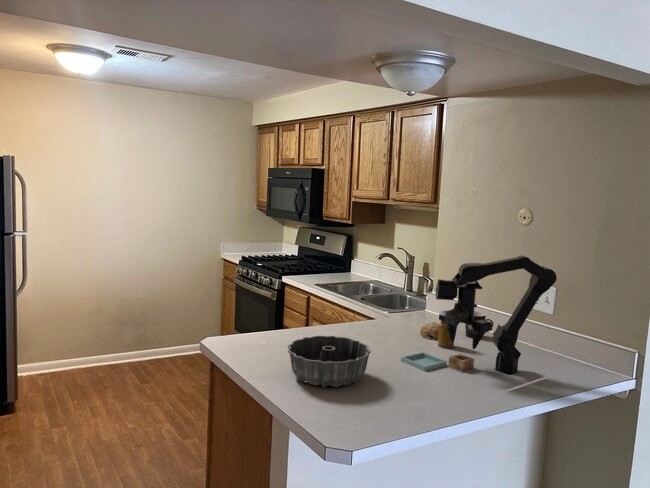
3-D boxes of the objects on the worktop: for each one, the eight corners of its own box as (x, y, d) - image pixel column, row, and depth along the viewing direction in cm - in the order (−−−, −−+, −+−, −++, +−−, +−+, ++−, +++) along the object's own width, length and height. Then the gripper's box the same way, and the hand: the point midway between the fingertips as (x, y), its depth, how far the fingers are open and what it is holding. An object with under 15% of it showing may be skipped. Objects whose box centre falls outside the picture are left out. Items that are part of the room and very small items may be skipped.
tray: (446, 367, 182) (446, 361, 181) (424, 372, 175) (424, 366, 175) (422, 357, 191) (423, 352, 190) (400, 362, 184) (401, 356, 184)
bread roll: (418, 345, 217) (418, 330, 213) (422, 329, 225) (422, 315, 221) (443, 348, 214) (443, 333, 210) (445, 332, 222) (446, 317, 218)
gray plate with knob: (477, 370, 179) (478, 362, 179) (462, 374, 175) (463, 366, 174) (459, 363, 186) (459, 355, 185) (444, 367, 181) (444, 359, 181)
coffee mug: (458, 334, 223) (460, 311, 222) (474, 332, 227) (476, 310, 226) (477, 342, 213) (479, 318, 211) (493, 340, 216) (495, 317, 215)
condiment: (444, 344, 208) (446, 314, 207) (461, 350, 202) (464, 319, 201) (432, 347, 204) (434, 317, 202) (450, 353, 197) (452, 322, 196)
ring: (473, 368, 180) (474, 358, 179) (462, 371, 176) (463, 361, 176) (459, 363, 184) (460, 353, 184) (448, 366, 181) (449, 356, 180)
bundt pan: (295, 397, 151) (297, 363, 150) (279, 365, 176) (280, 336, 175) (380, 391, 158) (382, 359, 157) (353, 361, 183) (354, 334, 182)
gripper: (429, 297, 180) (426, 341, 182) (473, 309, 165) (470, 356, 167) (450, 294, 187) (447, 336, 188) (495, 305, 172) (491, 351, 174)
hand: (463, 345), depth 179 cm, fingers open, 9 cm apart
